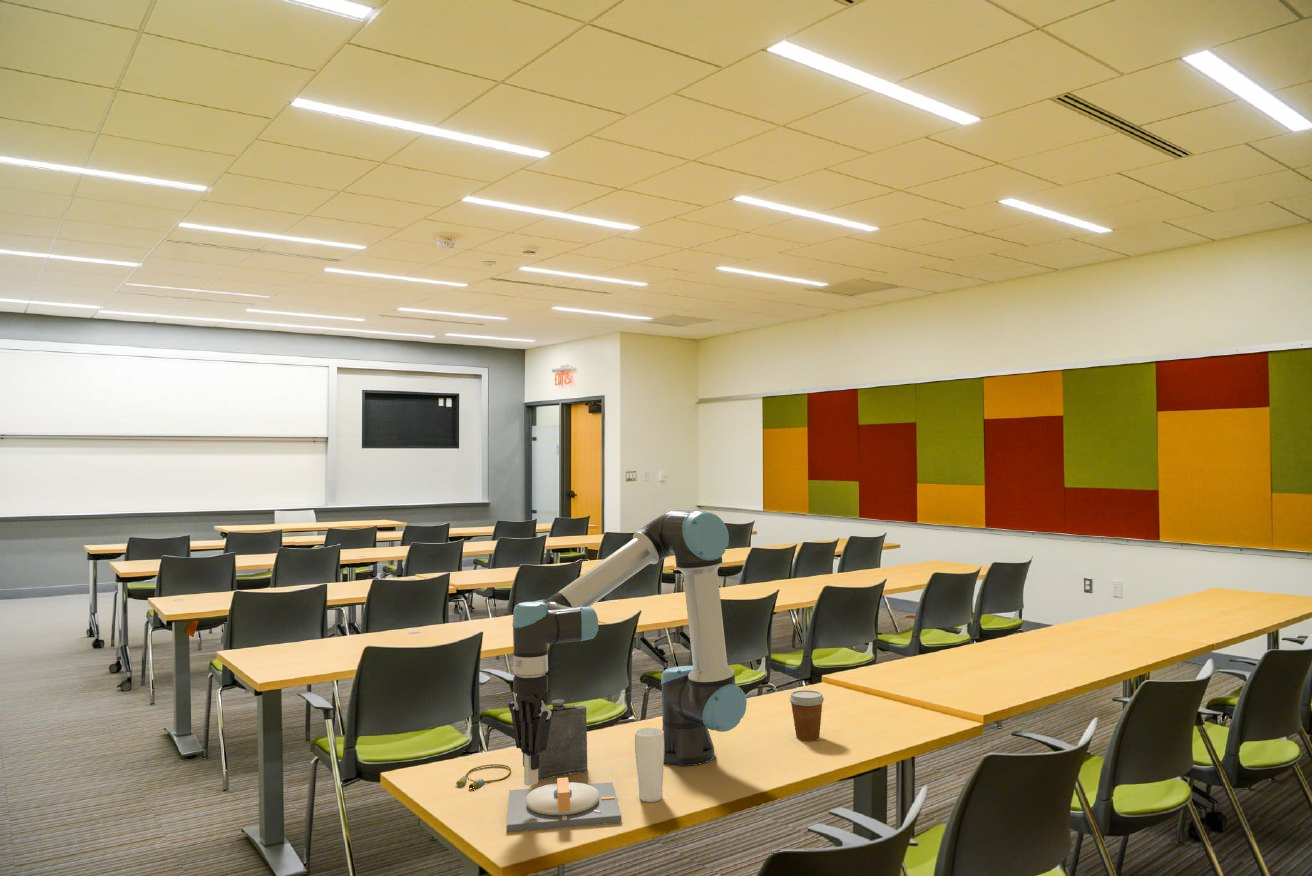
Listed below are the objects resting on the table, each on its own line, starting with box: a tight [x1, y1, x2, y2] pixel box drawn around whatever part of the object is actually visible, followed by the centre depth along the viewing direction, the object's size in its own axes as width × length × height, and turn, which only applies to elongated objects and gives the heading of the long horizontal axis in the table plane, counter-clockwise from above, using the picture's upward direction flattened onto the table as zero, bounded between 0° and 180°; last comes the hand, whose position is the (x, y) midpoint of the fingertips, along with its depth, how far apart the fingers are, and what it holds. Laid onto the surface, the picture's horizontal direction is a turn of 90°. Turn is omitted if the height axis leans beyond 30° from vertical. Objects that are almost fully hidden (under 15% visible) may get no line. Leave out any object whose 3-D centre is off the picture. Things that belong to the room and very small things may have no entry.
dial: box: [526, 777, 599, 815], centre depth 186 cm, size 18×16×5 cm
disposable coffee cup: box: [788, 689, 825, 742], centre depth 233 cm, size 10×10×12 cm
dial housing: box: [506, 781, 622, 833], centre depth 187 cm, size 24×20×2 cm
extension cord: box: [455, 763, 512, 791], centre depth 208 cm, size 12×16×2 cm
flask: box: [538, 698, 589, 781], centre depth 210 cm, size 4×14×18 cm, turn 116°
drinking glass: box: [634, 727, 665, 803], centre depth 192 cm, size 7×7×15 cm
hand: (531, 783), depth 183 cm, fingers closed
